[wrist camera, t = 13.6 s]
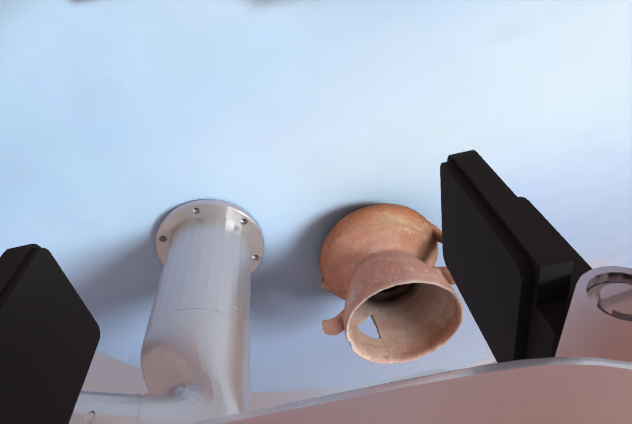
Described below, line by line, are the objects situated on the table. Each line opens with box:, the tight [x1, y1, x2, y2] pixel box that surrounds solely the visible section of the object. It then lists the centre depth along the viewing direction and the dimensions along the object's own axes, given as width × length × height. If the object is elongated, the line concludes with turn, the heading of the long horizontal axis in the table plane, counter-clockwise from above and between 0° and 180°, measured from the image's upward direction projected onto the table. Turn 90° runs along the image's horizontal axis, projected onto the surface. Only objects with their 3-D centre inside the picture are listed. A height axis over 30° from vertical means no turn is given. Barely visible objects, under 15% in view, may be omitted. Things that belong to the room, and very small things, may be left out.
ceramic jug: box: [320, 204, 463, 364], centre depth 52 cm, size 18×14×14 cm
